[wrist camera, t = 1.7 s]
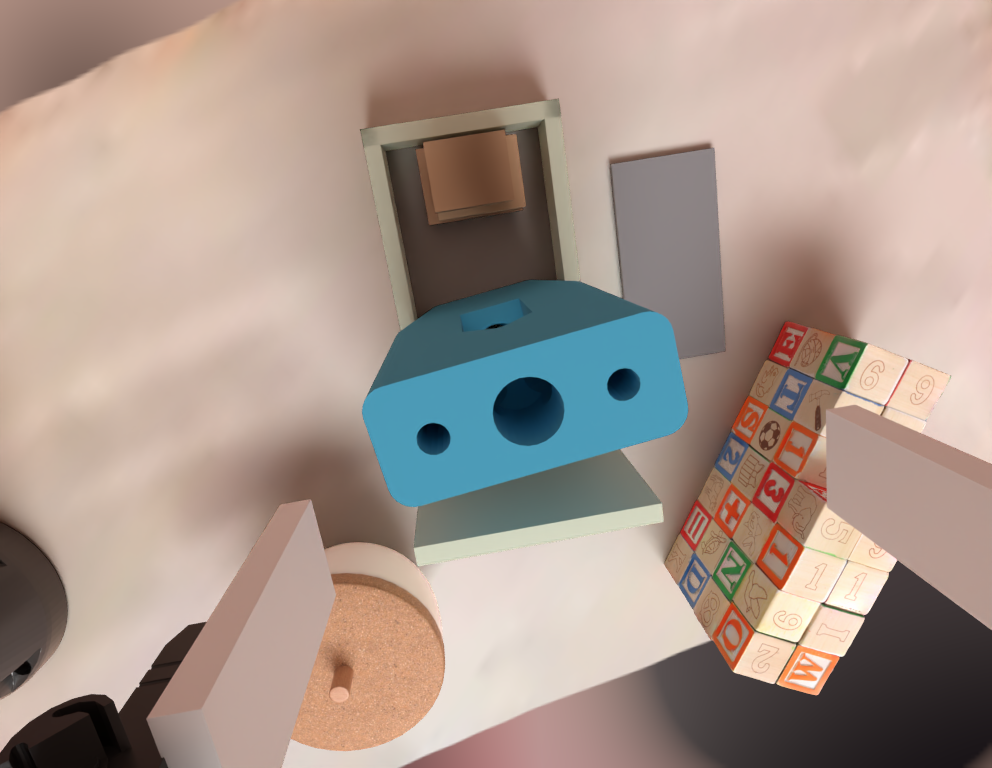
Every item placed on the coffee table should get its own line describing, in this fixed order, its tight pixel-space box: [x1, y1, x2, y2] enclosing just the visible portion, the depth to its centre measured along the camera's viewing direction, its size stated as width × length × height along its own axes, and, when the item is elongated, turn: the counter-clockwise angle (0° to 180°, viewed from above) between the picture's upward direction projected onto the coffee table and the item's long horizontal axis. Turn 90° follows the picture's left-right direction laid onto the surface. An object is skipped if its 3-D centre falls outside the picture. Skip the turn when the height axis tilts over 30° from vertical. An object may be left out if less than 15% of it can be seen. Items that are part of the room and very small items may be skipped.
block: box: [362, 280, 688, 507], centre depth 32 cm, size 12×5×20 cm, turn 105°
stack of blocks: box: [665, 321, 951, 695], centre depth 40 cm, size 21×6×12 cm, turn 159°
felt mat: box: [610, 148, 725, 359], centre depth 41 cm, size 7×14×1 cm, turn 9°
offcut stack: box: [415, 130, 526, 225], centre depth 36 cm, size 6×4×8 cm
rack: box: [360, 99, 664, 567], centre depth 33 cm, size 12×22×16 cm, turn 9°
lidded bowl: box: [291, 542, 445, 751], centre depth 41 cm, size 13×13×11 cm
